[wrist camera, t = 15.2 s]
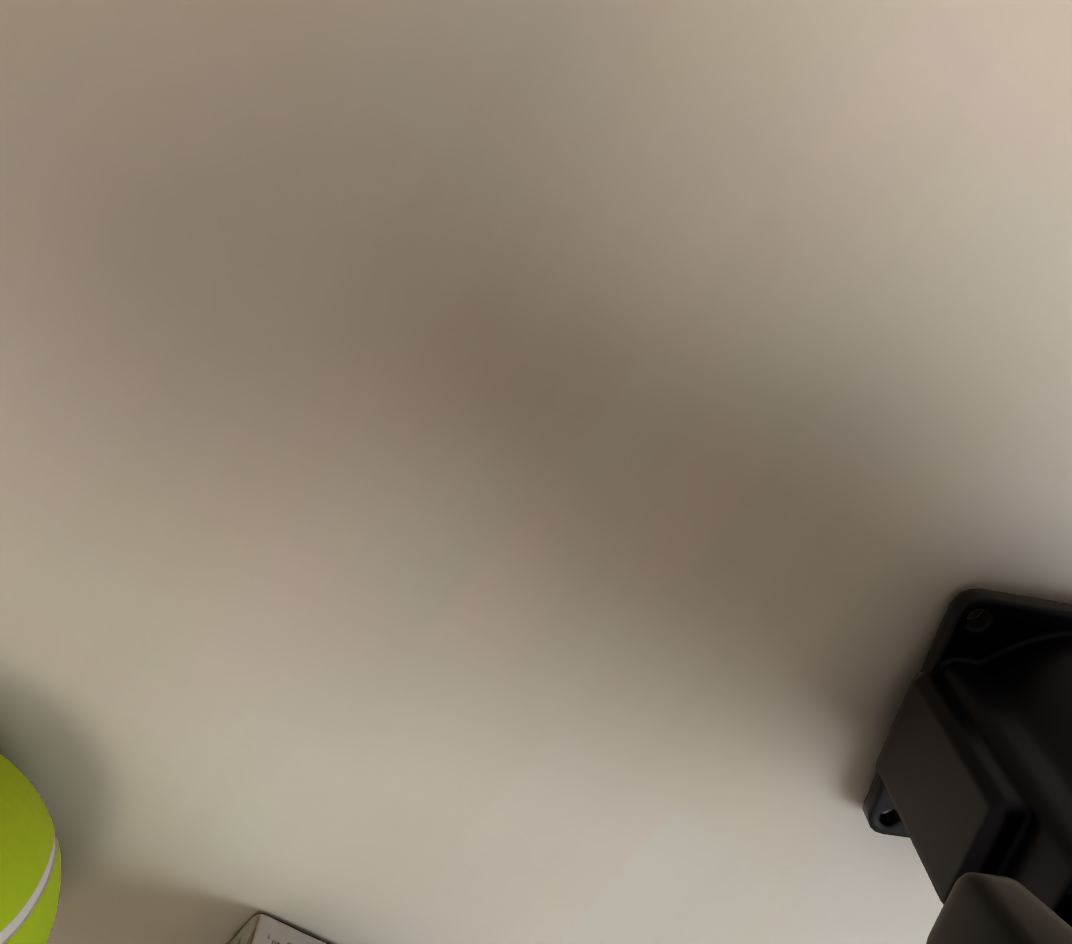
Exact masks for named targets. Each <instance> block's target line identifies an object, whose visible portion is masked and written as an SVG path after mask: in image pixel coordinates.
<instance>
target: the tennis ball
mask: <svg viewBox="0 0 1072 944" xmlns="http://www.w3.org/2000/svg"><path fill="white" fill-rule="evenodd" d="M60 886H61V852H60V847H59V842H58V838H57V836H56V835H55V830H54V823H53V821H52V818H51V816H50V814H49V812H48V809H47V807H46V806H45V804H44V802H43V800H42V799H41V797H40V795H39V793H38V792H37V791H36V789H35V788H34V787H33V785H32V784H31V782H30V781H29V780H28V779H27V778H26V777H25V775H24V774H23V773H22V772H21V771H20V770H19V769H18V768H17V767H16V766H15V765H14V764H13V763H11V762H10V761H9V760H8V759H7V758H5V757H4V756H3V755H1V754H0V944H47V941H48V938H49V935H50V933H51V930H52V927H53V923H54V920H55V916H56V912H57V907H58V902H59V894H60Z"/></svg>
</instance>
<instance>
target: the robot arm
mask: <svg viewBox="0 0 1072 944" xmlns="http://www.w3.org/2000/svg"><path fill="white" fill-rule="evenodd" d="M977 609H983V611H982V612H981V613H980V615H979V616H977V617H975V618H973V619H967V617H968V616H969V615H970V613H971V612H973V611H975V610H977ZM876 767H877V770H878V771H877V773H876V776H875V778H874V780H873V783H872V785H871V787H870V790H869V792H868V794H867V797H866V799H865V801H864V805H863V811H864V813H865V816H866V818H867V820H868V823H869V825H870V827H871V828H872V829H873V830H874V831H875V832H879V833H882V834H887V835H895V836H902V837H909V838H911V840H912V843H913V845H914V847H915V849H916V851H917V853H918V855H919V857H920V859H921V861H922V863H923V865H924V867H925V869H926V871H927V874H928V876H929V878H930V880H931V882H932V884H933V886H934V888H935V890H936V892H937V894H938V896H939V898H940V900H941V902H942V903H943V905H944V906H943V908H942V910H941V912H940V914H939V916H938V918H937V920H936V922H935V924H934V926H933V928H932V930H931V932H930V934H929V936H928V939H927V943H926V944H1072V604H1066V603H1060V602H1054V601H1048V600H1043V599H1037V598H1031V597H1025V596H1019V595H1013V594H1007V593H1001V592H995V591H989V590H983V589H969V590H967V591H964V592H961V593H960V594H959V595H957V596H956V597H954V599H953V600H952V602H951V603H950V604H949V606H948V609H947V611H946V613H945V616H944V618H943V620H942V623H941V625H940V627H939V630H938V632H937V634H936V637H935V639H934V641H933V643H932V646H931V648H930V650H929V653H928V655H927V657H926V660H925V662H924V664H923V667H922V669H921V671H920V674H918V675H917V676H916V677H915V678H914V679H913V680H912V682H911V684H910V686H909V689H908V691H907V693H906V696H905V698H904V700H903V703H902V705H901V707H900V710H899V712H898V714H897V717H896V719H895V721H894V723H893V726H892V728H891V730H890V733H889V735H888V737H887V740H886V742H885V744H884V747H883V749H882V751H881V754H880V756H879V758H878V761H877V764H876ZM889 809H892V811H890V812H888V813H882V812H884V811H886V810H889Z"/></svg>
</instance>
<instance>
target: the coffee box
mask: <svg viewBox="0 0 1072 944" xmlns="http://www.w3.org/2000/svg"><path fill="white" fill-rule="evenodd" d="M229 944H326V943H324V942H322V941H320V940H317V939H315V938H313V937H311V936H308V935H306V934H304V933H302V932H300V931H298V930H296V929H293V928H291V927H289V926H287V925H285V924H283V923H281V922H279V921H277V920H275V919H273V918H271V917H269V916H266V915H263V914H257V915H255V916H254V917H253V918H252V919H251V920H250V921H249V922H248V923H247V924H246V925H245V926H244V927H243V928H242V930H241V931H240V932H239V933H238V934H237V935H236V936H235V938H234V939H233V940H232V941H231V942H230V943H229Z"/></svg>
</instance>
